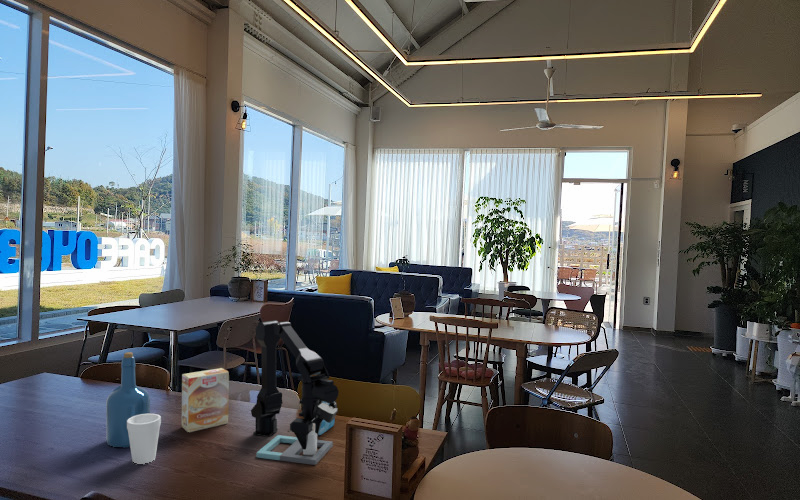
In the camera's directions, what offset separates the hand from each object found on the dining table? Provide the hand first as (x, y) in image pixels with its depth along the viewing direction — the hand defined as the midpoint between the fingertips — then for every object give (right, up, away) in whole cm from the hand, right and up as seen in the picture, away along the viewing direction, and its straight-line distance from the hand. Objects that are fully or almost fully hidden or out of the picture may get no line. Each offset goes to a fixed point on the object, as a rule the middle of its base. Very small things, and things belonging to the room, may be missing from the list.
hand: (310, 443), depth 175 cm
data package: (+1, -3, +21) cm, 21 cm away
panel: (-5, -3, +1) cm, 6 cm away
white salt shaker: (0, -3, 0) cm, 3 cm away
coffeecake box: (-42, -2, +23) cm, 48 cm away
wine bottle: (-62, -2, +7) cm, 63 cm away
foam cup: (-50, -3, -7) cm, 51 cm away
